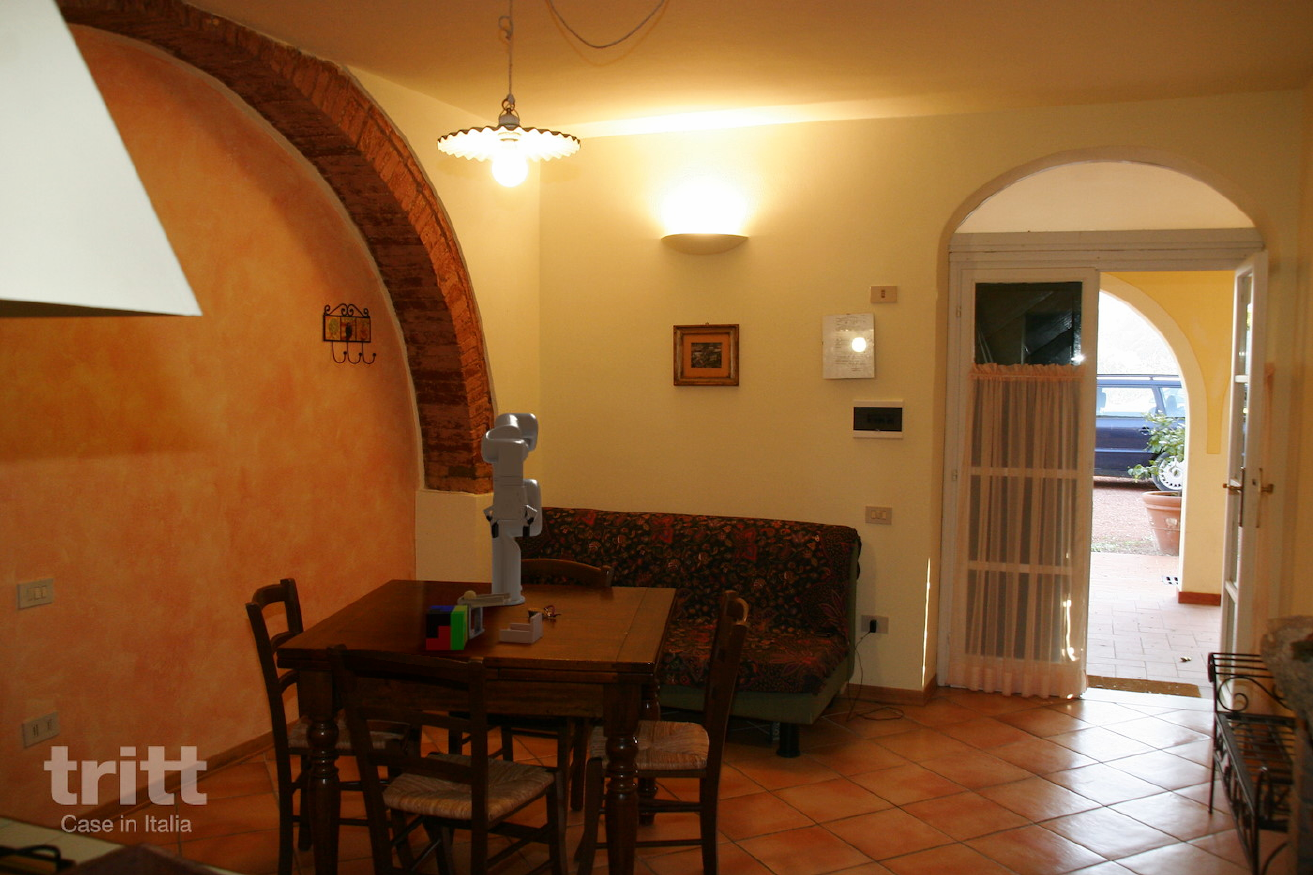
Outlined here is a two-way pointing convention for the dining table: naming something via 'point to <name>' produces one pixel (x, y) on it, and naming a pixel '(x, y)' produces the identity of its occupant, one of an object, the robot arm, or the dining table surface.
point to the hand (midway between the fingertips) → (510, 538)
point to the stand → (477, 621)
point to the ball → (469, 595)
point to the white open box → (524, 631)
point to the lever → (486, 600)
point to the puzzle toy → (446, 628)
